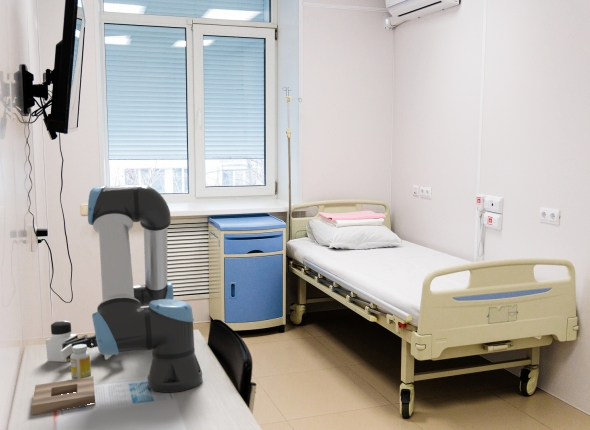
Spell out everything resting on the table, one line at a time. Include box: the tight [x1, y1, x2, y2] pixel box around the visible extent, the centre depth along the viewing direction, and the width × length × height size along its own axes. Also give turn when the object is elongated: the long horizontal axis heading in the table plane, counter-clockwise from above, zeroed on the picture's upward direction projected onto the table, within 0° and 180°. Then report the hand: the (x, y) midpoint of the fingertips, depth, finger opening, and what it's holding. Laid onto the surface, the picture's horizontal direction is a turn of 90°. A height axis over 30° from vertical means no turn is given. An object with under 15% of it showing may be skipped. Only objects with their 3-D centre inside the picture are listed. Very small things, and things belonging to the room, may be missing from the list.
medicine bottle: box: [45, 320, 79, 363], centre depth 192 cm, size 7×7×12 cm
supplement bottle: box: [69, 344, 92, 380], centre depth 174 cm, size 5×5×10 cm
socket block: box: [31, 375, 96, 416], centre depth 158 cm, size 15×15×2 cm
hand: (83, 355), depth 177 cm, fingers open, 13 cm apart
